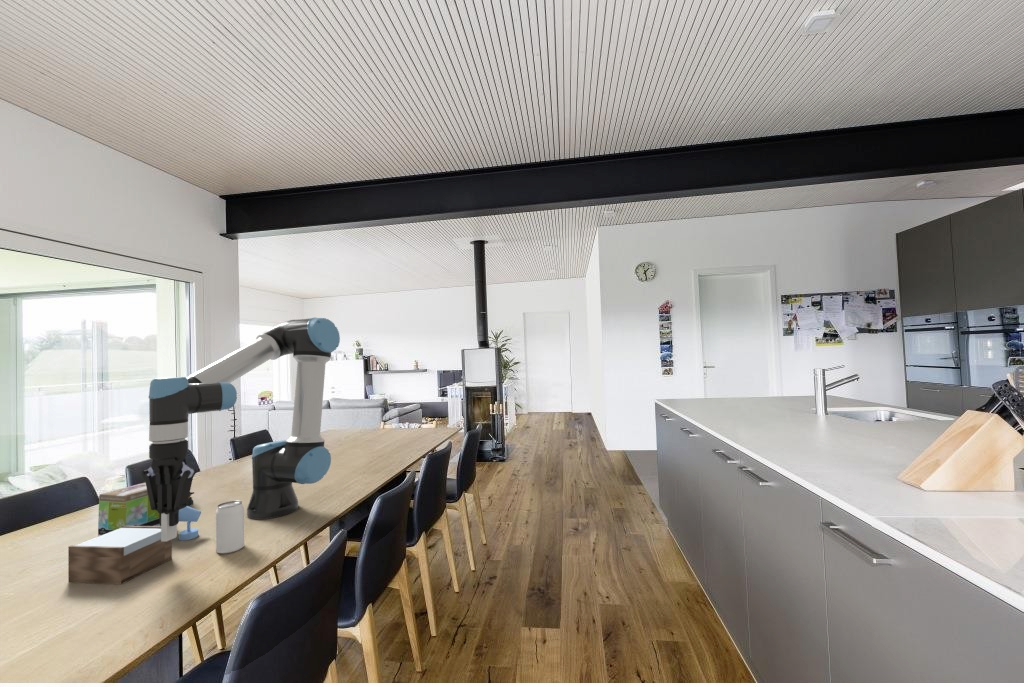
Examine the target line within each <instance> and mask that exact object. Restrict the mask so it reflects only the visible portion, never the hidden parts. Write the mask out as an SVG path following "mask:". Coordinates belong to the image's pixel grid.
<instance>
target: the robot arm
mask: <svg viewBox="0 0 1028 687" xmlns="http://www.w3.org/2000/svg"><path fill="white" fill-rule="evenodd" d="M340 341H341V336H340V331H339V329H338V327H337V326H336V325H335V323H334V322H333V321H332V320H330V319H329V318H325V317H310V318H303V319H290V320H286V321H284V322H280V323H279V324H276V325H275V326H274V327H271V328H268V329H267V330H266V331H264V332H262V333H259V334H258V335H257V336H256V338H255V340H253V341H252V342H250V343H248V344H246V345H244V346H243V347H241V348H238V349H236V350H235V351H233V352H231V353H229V354H227V355H225V356H224V357H222V358H220V359H218V360H217V361H214V362H213V363H210V364H209V365H207V366H206V367H204V368H201V369H200V370H197V371H196V372H194V373H192V374H190V375H188V376H187V377H185V376H175V377H174V376H173V377H156V378H153V379H152V380H151V381H150V382H149V385H150V386H149V392H148V399H149V402H148V406H149V411H148V412H149V413H148V414H149V415H148V416H149V428H148V429H149V430H148V435H149V436H148V441H149V442H151V443H150V444H149V445H148V446H149V447H148V448H149V450H148V451H149V452H148V458H149V459H150V460H151V464H150V466H149V468H147V469H145V470H142V471H141V476H142V477H143V479H144V481H145V482H146V487H147V492H148V497H149V501H150V506H151V510H157V511H158V513H159V524H160V526H161V541H166V542H167V541H169V540H171V539H172V540H174V539H176V538H177V536H178V532H177V528H178V527H177V526H178V524H179V522H180V521H179V510H180V509H182V508H185V507H186V506H187V503H188V498H189V494H190V492H191V489H192V488H191V487H192V483H193V480H194V479H193V478H194V477H195V475H196V473H197V472H198V471H197V468H191V467H189V465H188V461H187V459H186V458H187V455H189V440H188V439H187V438H188V437H189V415H191V414H197V413H199V414H200V413H208V412H209V413H210V412H221V411H224V410H225V411H226V410H230V409H232V408H233V407H234V406H235V404H236V403H237V400H238V396H237V394H238V393H237V389H236V387H235V386H234V385H233V383H232V382H234V381H236V380H238V379H239V378H241V377H242V376H244V375H246V374H248V373H249V372H251V371H253V370H254V369H256V368H258V367H260V366H261V365H263V364H264V363H266V362H268V361H269V360H273V361H275V360H278V359H279V358H280V357H282V356H285V355H292V358H293V359H294V360H295V361H296V362H297V366H296V378H295V387H294V388H295V389H294V400H293V401H294V402H293V410H292V411H293V412H292V424H291V435H290V436H289V437H288V438H287V439H283V440H282V439H281V440H277V441H271V442H266V443H261V444H257V445H256V446H253V448H252V454H251V455H252V456H251V463H252V464H251V466H252V469H251V470H252V492H251V496H250V499H249V502H248V506H247V508H246V515H247V516H246V517H247V518H249V519H251V520H252V519H253V520H265V519H266V520H267V519H274V518H279V517H283V516H286V515H289V514H292V513H294V512H295V511H296V510H298V509H299V500H298V497H297V494H296V492H295V489H294V486H293V483H295V484H299V485H309V484H310V485H311V484H315V483H319V481H321V480H323V478H324V476H326V475H327V473H328V471H329V469H330V467H331V463H332V455H331V453H330V451H329V450H328V449H327V448H326V447H325V439H324V438H323V437H322V436H321V427H322V412H323V400H324V388H325V378H326V376H325V375H326V373H325V372H326V364H327V363H328V362H329V361H330V360H331V359H332V358H331V357H332V353H333V352H334V351H336V350H337V348H338V347H339V345H340ZM145 482H144V483H145ZM156 503H158V504H156Z"/></svg>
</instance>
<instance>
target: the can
mask: <svg viewBox="0 0 1028 687" xmlns="http://www.w3.org/2000/svg"><path fill="white" fill-rule="evenodd" d="M244 546H245V507H244V505H243V501H242V500H230V501H225V502H222V503H220V504H218V505H217V508H216V510H215V551H216V553H218V554H220V555H222V554H223V555H225V554H232V553H234V552H237V551H240V550H242V548H244Z"/></svg>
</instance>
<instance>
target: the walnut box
mask: <svg viewBox="0 0 1028 687" xmlns="http://www.w3.org/2000/svg"><path fill="white" fill-rule="evenodd" d="M122 528H157V529H161V526H122ZM172 541H173V539H171V540H169V541H167V542H166V541H161V540H159V541H156V542H154V543H152V544H150V545H147V546H145V547H143V548H141V549H138V550H136V551H134V552H132V553H129V554H127V555H125V556H124V547H109V546H75V545H70V546H68V564H67V565H68V580H67V581H68V583H77V584H78V583H79V584H81V583H82V584H102V585H123V584H124V583H127V582H129V581H131V580H133V579H135V578H137V577H139V576H141V575H143V574H145V573H147V572H148V571H150V570H152V569H154V568H156V567H158V566H161V565H162V564H165V563H167V562H169V561H170V560H172V559H173V546H172V544H173V542H172Z"/></svg>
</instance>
